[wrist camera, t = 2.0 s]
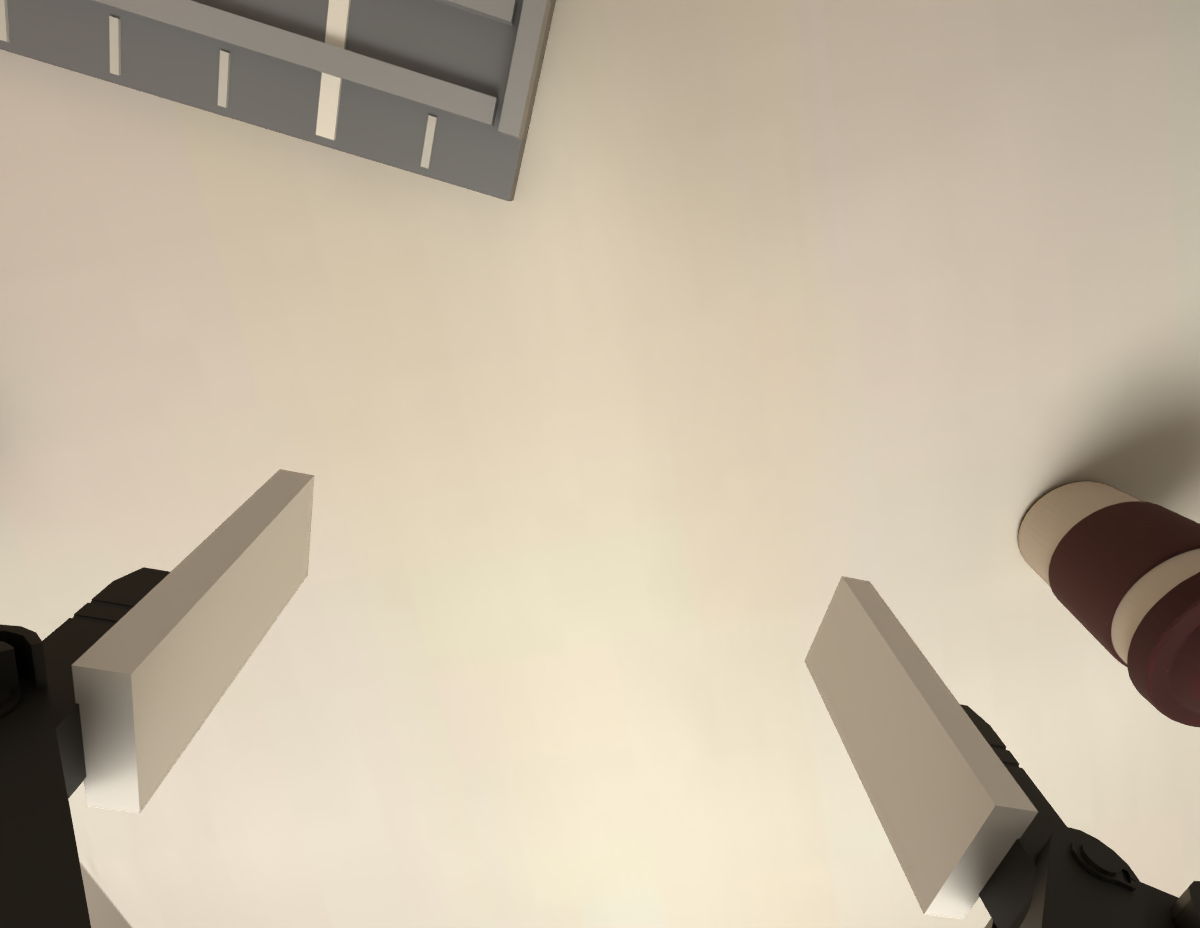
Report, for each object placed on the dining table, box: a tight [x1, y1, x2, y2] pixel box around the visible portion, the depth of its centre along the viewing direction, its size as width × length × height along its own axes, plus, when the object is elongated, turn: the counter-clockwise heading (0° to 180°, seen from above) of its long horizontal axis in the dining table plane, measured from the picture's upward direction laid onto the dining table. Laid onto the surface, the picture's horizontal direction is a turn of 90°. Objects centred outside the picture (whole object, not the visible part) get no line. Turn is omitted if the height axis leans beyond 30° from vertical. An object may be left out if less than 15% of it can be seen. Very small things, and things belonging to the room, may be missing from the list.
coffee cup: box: [1018, 481, 1200, 727], centre depth 38 cm, size 10×10×15 cm
